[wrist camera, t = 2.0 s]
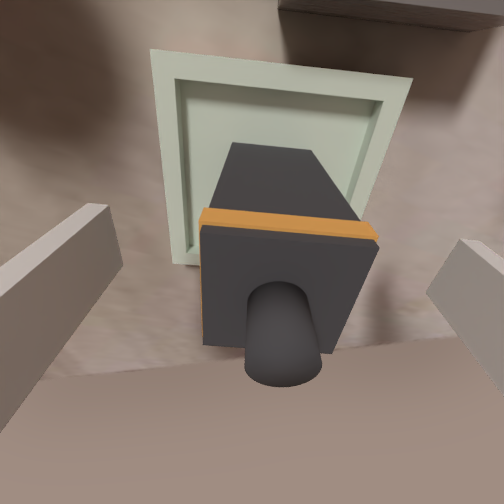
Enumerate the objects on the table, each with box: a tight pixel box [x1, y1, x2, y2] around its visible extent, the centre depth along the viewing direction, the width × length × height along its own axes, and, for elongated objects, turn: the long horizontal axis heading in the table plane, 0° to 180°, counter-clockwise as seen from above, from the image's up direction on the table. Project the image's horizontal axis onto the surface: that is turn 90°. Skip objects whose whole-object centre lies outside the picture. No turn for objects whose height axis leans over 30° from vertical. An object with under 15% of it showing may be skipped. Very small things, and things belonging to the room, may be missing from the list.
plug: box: [198, 142, 379, 387], centre depth 11 cm, size 5×5×12 cm
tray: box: [150, 49, 413, 266], centre depth 16 cm, size 12×12×2 cm
